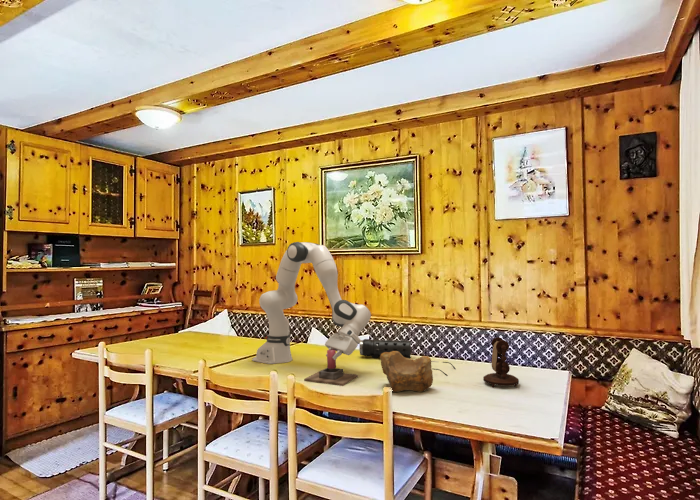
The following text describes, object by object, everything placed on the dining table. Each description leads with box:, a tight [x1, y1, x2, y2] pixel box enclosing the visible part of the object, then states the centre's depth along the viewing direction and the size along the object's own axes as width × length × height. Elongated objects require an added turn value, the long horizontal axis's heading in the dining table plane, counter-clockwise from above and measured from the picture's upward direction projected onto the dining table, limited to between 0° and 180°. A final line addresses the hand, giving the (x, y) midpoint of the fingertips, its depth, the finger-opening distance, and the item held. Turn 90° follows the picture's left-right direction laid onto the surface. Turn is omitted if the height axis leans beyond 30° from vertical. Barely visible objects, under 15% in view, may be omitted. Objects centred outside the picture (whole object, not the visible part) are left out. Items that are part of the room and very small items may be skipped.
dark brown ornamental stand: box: [482, 336, 520, 388], centre depth 194 cm, size 15×15×20 cm
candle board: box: [303, 367, 359, 387], centre depth 206 cm, size 20×16×4 cm
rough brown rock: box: [379, 351, 434, 393], centre depth 187 cm, size 23×17×15 cm
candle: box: [326, 349, 337, 369], centre depth 206 cm, size 4×4×9 cm
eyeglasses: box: [431, 360, 457, 376], centre depth 219 cm, size 16×19×5 cm
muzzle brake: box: [358, 338, 412, 359], centre depth 247 cm, size 10×28×10 cm, turn 78°
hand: (330, 357), depth 205 cm, fingers closed on candle, 4 cm apart
